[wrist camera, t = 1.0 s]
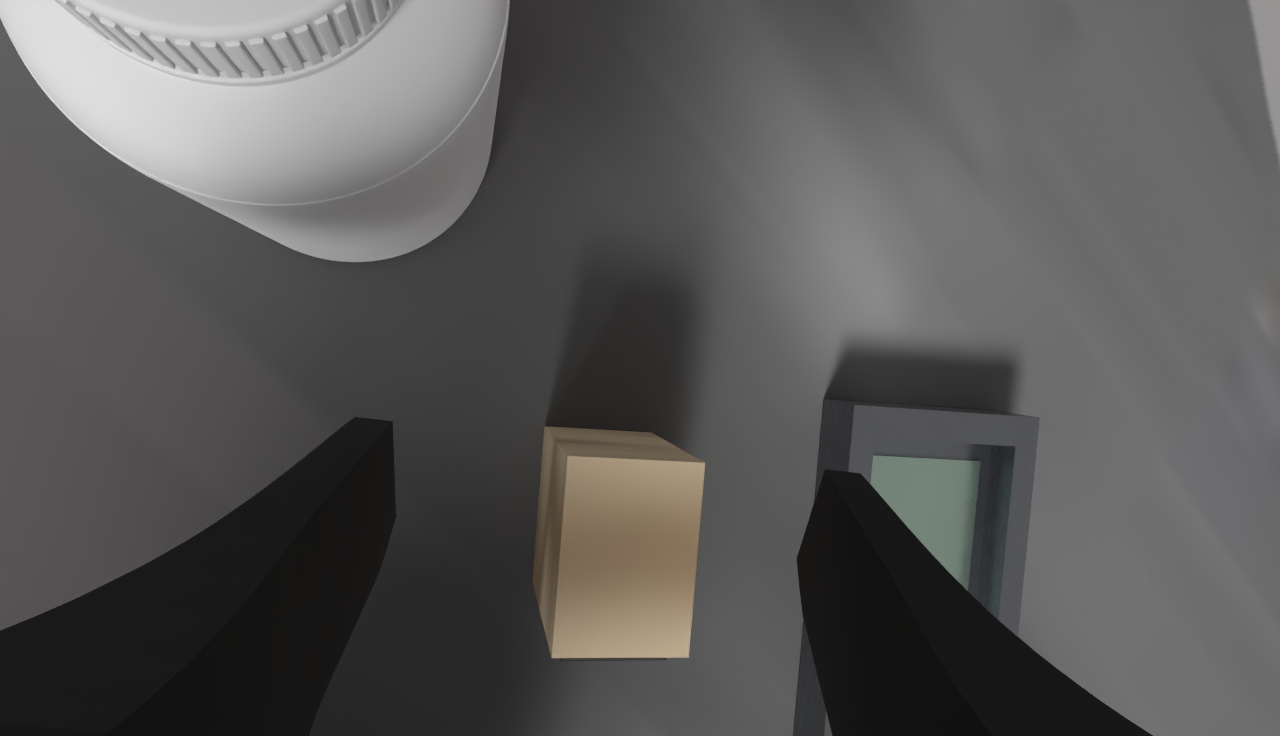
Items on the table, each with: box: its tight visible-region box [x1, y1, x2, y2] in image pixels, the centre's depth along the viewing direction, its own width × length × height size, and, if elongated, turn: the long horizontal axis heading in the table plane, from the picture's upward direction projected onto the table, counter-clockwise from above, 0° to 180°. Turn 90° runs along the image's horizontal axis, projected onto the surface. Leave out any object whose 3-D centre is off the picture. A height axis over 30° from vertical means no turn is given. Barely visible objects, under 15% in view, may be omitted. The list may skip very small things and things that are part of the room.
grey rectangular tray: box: [793, 399, 1040, 736], centre depth 27 cm, size 16×7×2 cm, turn 176°
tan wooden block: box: [532, 426, 705, 661], centre depth 23 cm, size 5×4×6 cm, turn 176°
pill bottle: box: [0, 0, 510, 262], centre depth 16 cm, size 8×8×15 cm
